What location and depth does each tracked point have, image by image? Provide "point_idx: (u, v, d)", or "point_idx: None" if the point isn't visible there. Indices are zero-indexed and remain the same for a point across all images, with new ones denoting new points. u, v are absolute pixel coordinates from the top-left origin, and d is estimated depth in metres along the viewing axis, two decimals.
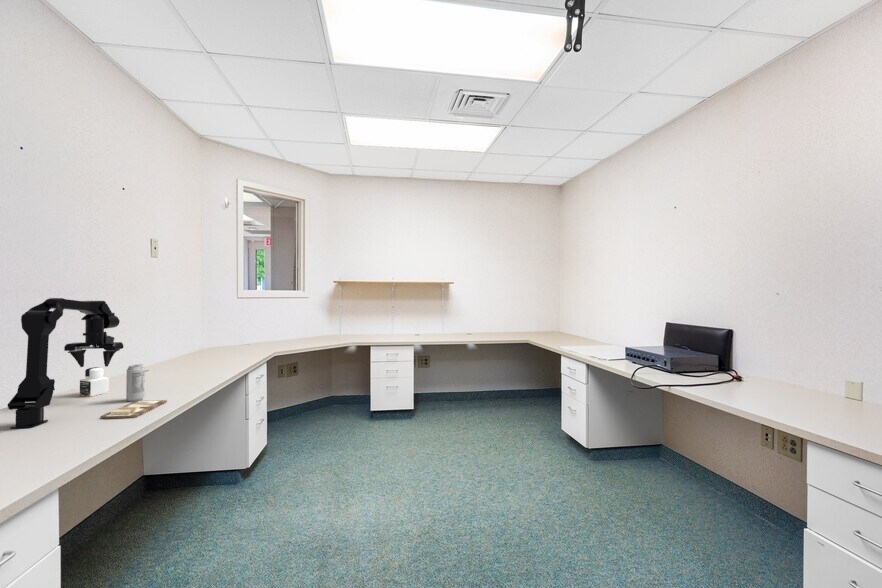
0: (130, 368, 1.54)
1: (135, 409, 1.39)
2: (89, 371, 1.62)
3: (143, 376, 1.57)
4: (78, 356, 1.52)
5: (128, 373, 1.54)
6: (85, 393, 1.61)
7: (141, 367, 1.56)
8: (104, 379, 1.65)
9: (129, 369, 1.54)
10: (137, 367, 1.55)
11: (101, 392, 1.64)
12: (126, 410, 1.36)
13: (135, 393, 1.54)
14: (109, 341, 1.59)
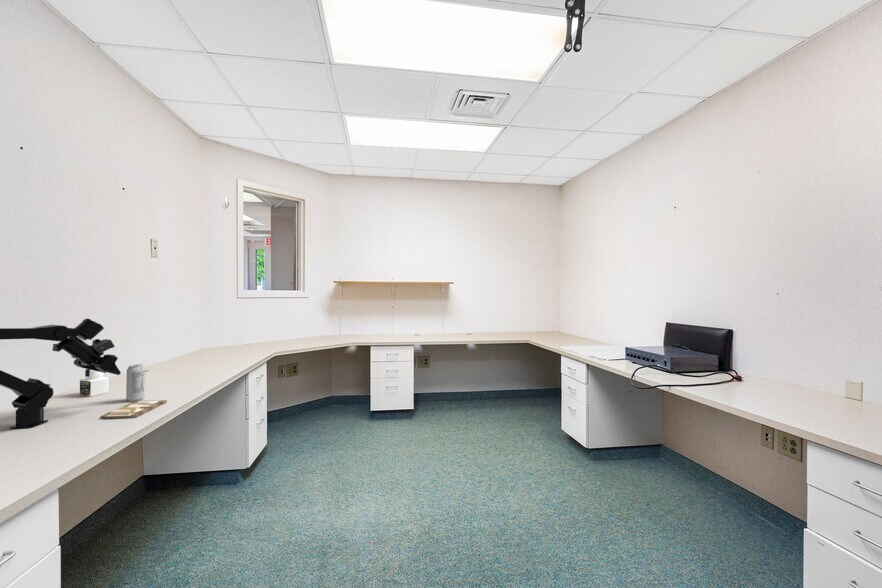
0: (130, 368, 1.54)
1: (135, 409, 1.39)
2: (89, 371, 1.62)
3: (143, 376, 1.57)
4: (93, 367, 1.47)
5: (128, 373, 1.54)
6: (85, 393, 1.61)
7: (141, 367, 1.56)
8: (104, 379, 1.65)
9: (129, 369, 1.54)
10: (137, 367, 1.55)
11: (101, 392, 1.64)
12: (126, 410, 1.36)
13: (135, 393, 1.54)
14: (106, 348, 1.45)
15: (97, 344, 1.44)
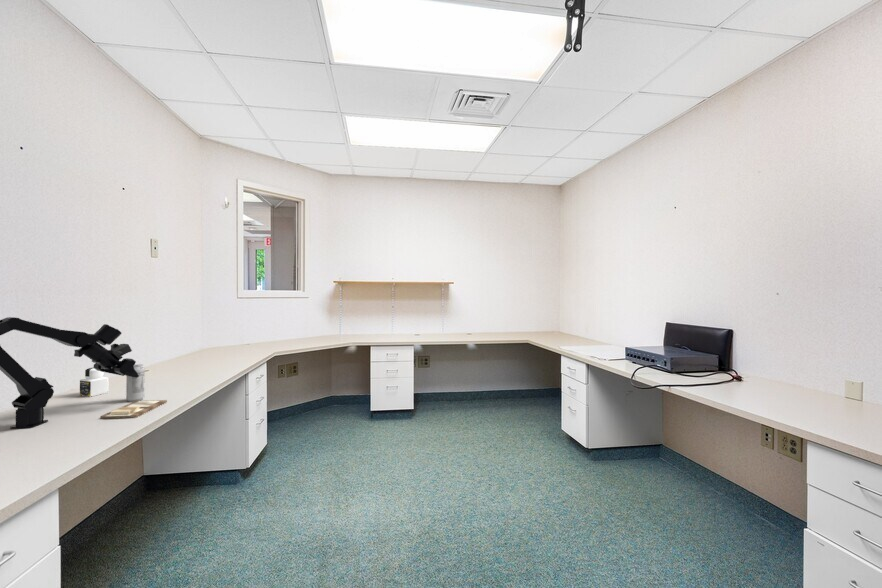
0: None
1: (135, 409, 1.39)
2: (89, 371, 1.62)
3: (143, 376, 1.57)
4: (112, 371, 1.53)
5: None
6: (85, 393, 1.61)
7: (141, 367, 1.56)
8: (104, 379, 1.65)
9: None
10: (137, 367, 1.55)
11: (101, 392, 1.64)
12: (126, 410, 1.36)
13: (135, 393, 1.54)
14: (124, 353, 1.50)
15: (115, 349, 1.50)
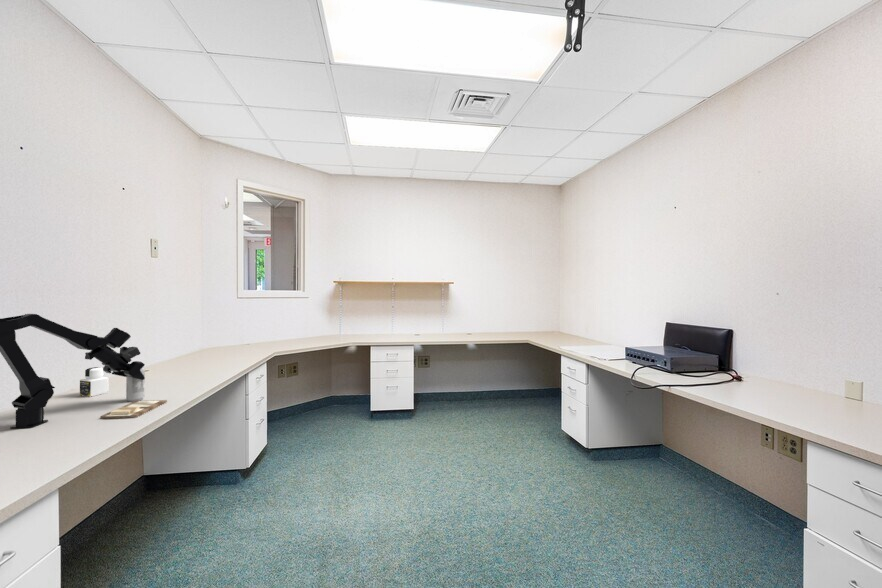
0: None
1: (135, 409, 1.39)
2: (89, 371, 1.62)
3: None
4: (123, 374, 1.55)
5: None
6: (85, 393, 1.61)
7: None
8: (104, 379, 1.65)
9: None
10: None
11: (101, 392, 1.64)
12: (126, 410, 1.36)
13: (135, 393, 1.54)
14: (133, 355, 1.53)
15: (125, 351, 1.53)
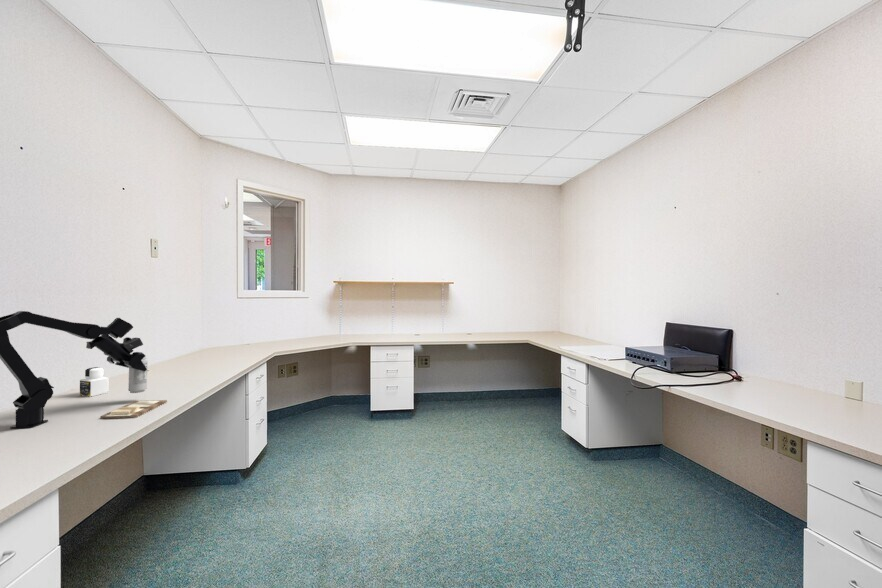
0: None
1: (135, 409, 1.39)
2: (89, 371, 1.62)
3: None
4: None
5: None
6: (85, 393, 1.61)
7: (143, 358, 1.55)
8: (104, 379, 1.65)
9: None
10: None
11: (101, 392, 1.64)
12: (126, 410, 1.36)
13: (137, 384, 1.53)
14: (135, 346, 1.52)
15: (127, 342, 1.52)
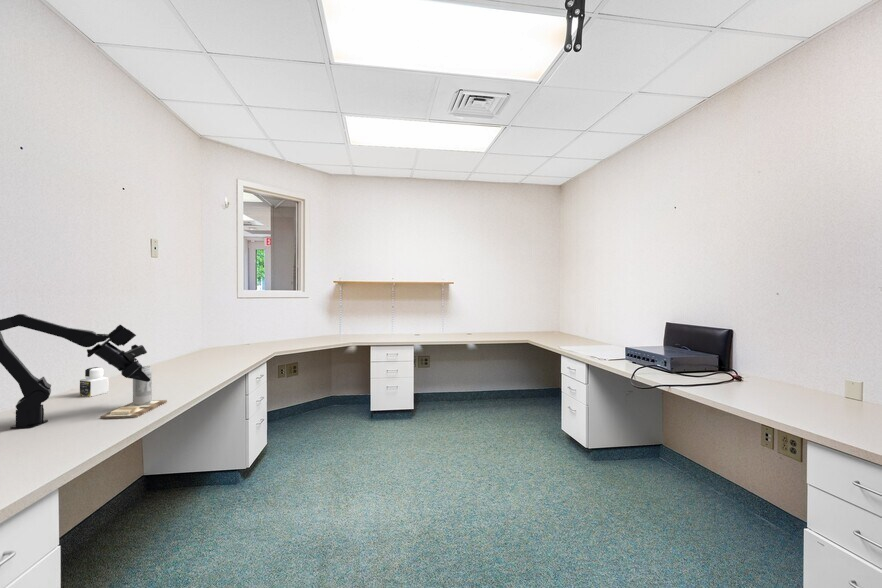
0: None
1: (135, 409, 1.39)
2: (89, 371, 1.62)
3: None
4: None
5: None
6: (85, 393, 1.61)
7: (145, 369, 1.47)
8: (104, 379, 1.65)
9: None
10: None
11: (101, 392, 1.64)
12: (126, 410, 1.36)
13: (139, 397, 1.45)
14: (137, 355, 1.45)
15: (131, 350, 1.45)
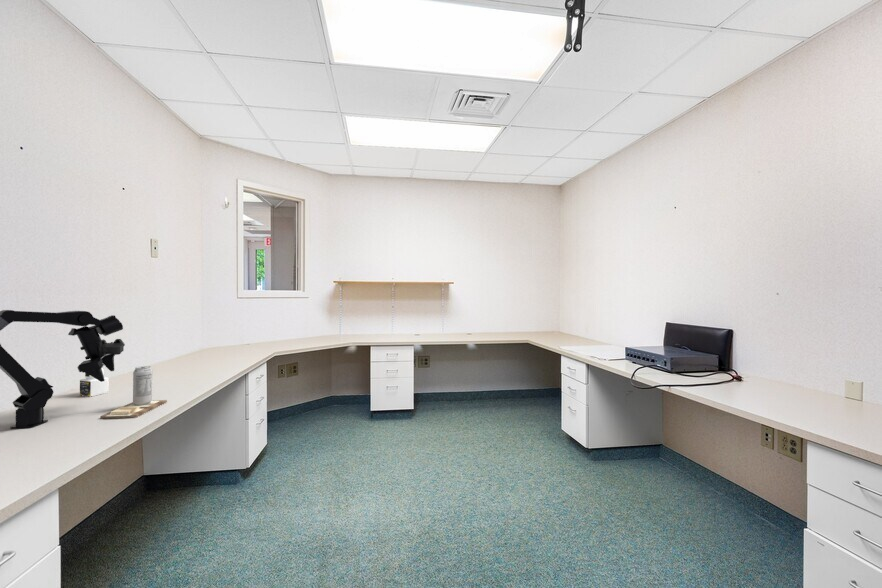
0: (135, 370, 1.46)
1: (135, 409, 1.39)
2: None
3: (148, 379, 1.47)
4: (105, 361, 1.49)
5: (133, 375, 1.45)
6: (85, 393, 1.61)
7: (146, 369, 1.47)
8: (104, 379, 1.65)
9: (134, 371, 1.46)
10: (141, 369, 1.46)
11: (101, 392, 1.64)
12: (126, 410, 1.36)
13: (139, 397, 1.45)
14: (109, 352, 1.42)
15: (109, 344, 1.44)
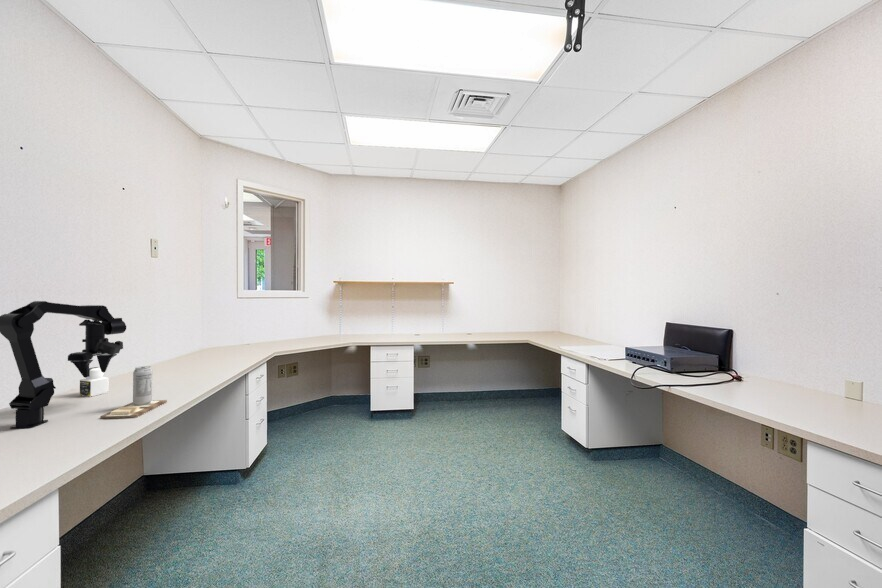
0: (135, 370, 1.46)
1: (135, 409, 1.39)
2: (89, 371, 1.62)
3: (148, 379, 1.47)
4: (101, 361, 1.52)
5: (133, 375, 1.45)
6: (85, 393, 1.61)
7: (146, 369, 1.47)
8: (104, 379, 1.65)
9: (134, 371, 1.46)
10: (141, 369, 1.46)
11: (101, 392, 1.64)
12: (126, 410, 1.36)
13: (139, 397, 1.45)
14: (103, 350, 1.45)
15: (108, 343, 1.48)
